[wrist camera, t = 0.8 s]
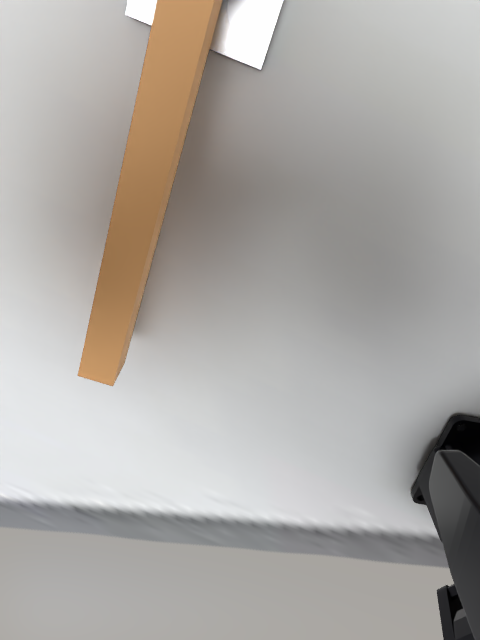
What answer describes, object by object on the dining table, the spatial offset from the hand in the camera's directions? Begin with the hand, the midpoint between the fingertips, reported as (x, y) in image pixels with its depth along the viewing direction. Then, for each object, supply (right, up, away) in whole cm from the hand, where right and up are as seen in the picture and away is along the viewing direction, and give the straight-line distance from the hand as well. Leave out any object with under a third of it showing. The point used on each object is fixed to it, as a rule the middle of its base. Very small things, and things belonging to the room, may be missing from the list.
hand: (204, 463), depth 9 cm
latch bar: (-2, +8, +7) cm, 11 cm away
